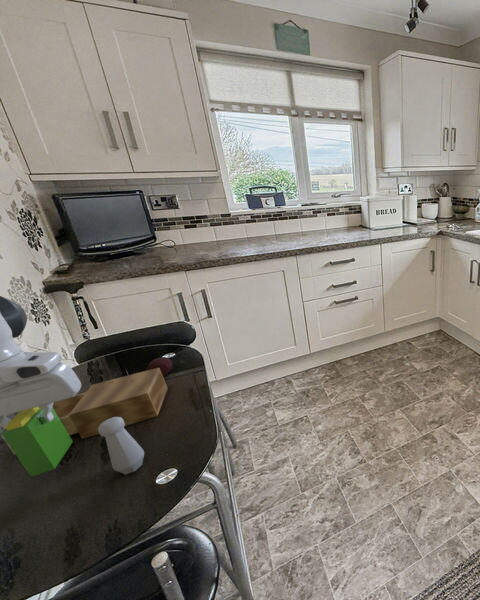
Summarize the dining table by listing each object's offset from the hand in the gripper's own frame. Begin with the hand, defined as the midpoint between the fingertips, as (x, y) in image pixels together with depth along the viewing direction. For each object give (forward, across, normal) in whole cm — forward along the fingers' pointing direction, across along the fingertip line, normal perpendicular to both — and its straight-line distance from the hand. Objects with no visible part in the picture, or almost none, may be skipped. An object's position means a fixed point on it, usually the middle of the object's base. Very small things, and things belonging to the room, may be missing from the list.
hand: (32, 425), depth 71 cm
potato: (+13, +14, +36) cm, 41 cm away
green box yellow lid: (+10, 0, 0) cm, 10 cm away
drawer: (+12, -7, +18) cm, 23 cm away
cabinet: (+13, +9, +18) cm, 24 cm away
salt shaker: (+13, +16, -8) cm, 22 cm away
